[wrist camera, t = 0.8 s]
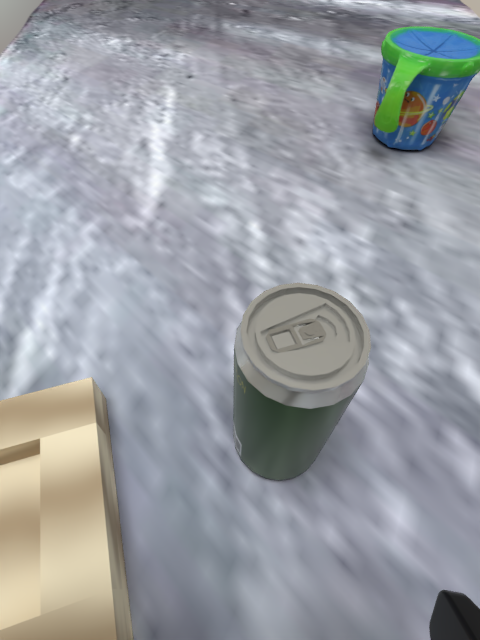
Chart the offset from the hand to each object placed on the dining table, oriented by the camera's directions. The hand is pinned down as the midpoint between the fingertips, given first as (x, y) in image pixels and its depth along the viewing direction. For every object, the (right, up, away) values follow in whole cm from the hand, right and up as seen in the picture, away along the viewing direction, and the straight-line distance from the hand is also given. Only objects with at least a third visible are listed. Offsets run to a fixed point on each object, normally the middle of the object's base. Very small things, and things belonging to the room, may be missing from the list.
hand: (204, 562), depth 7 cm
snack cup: (+21, +28, +40) cm, 53 cm away
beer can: (+3, -3, +16) cm, 17 cm away
